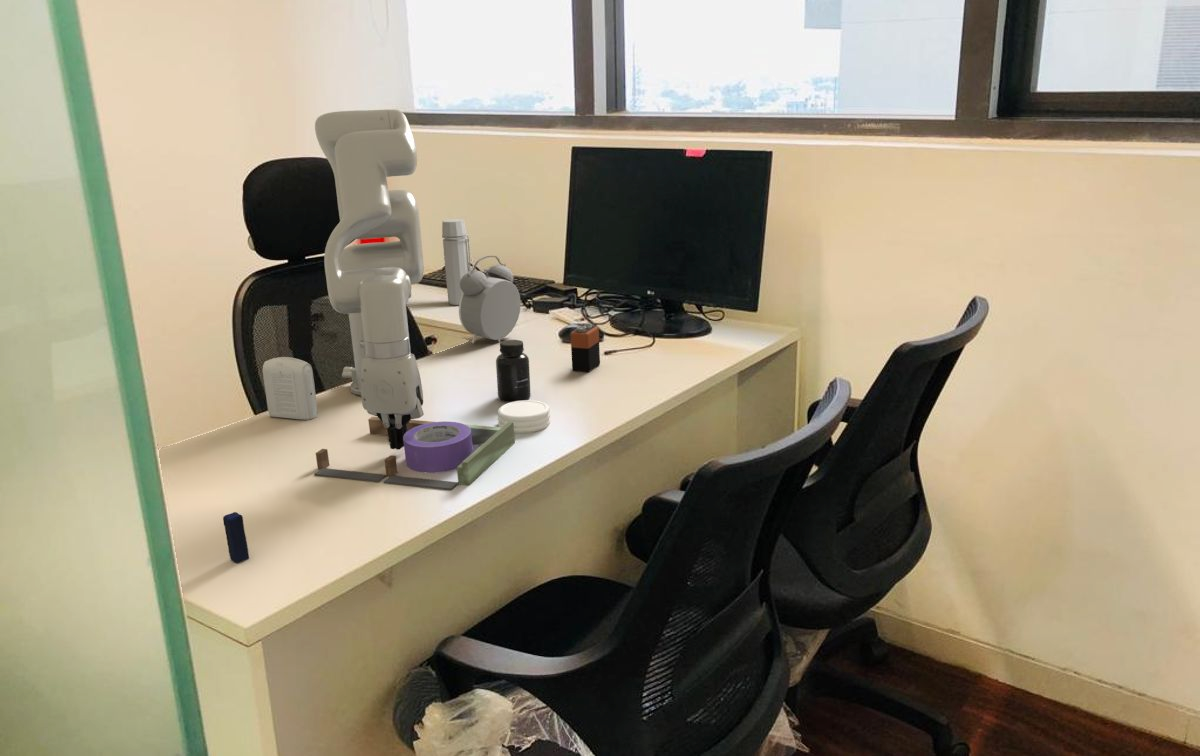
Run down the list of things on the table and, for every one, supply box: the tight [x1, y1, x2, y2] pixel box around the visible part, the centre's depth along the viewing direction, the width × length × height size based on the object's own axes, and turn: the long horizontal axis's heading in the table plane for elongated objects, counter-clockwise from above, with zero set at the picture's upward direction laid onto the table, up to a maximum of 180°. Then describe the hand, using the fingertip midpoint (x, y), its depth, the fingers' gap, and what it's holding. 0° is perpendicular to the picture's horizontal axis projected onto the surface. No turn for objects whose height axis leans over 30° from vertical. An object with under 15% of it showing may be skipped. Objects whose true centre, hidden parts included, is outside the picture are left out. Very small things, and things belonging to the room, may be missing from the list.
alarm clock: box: [458, 255, 522, 344], centre depth 233 cm, size 16×9×22 cm, turn 144°
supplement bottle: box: [495, 339, 531, 403], centre depth 190 cm, size 7×7×12 cm
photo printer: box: [262, 356, 319, 421], centre depth 184 cm, size 10×4×12 cm, turn 72°
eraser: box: [222, 511, 250, 564], centre depth 129 cm, size 2×2×7 cm
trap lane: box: [315, 416, 516, 486], centre depth 163 cm, size 29×19×4 cm, turn 72°
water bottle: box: [441, 218, 476, 307], centre depth 274 cm, size 9×8×25 cm
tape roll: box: [403, 420, 474, 474], centre depth 161 cm, size 12×12×5 cm
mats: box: [314, 467, 459, 491], centre depth 154 cm, size 26×2×1 cm, turn 72°
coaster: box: [497, 399, 551, 434], centre depth 177 cm, size 10×10×4 cm
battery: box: [570, 322, 601, 373], centre depth 209 cm, size 4×7×10 cm, turn 157°
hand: (399, 446), depth 164 cm, fingers closed
